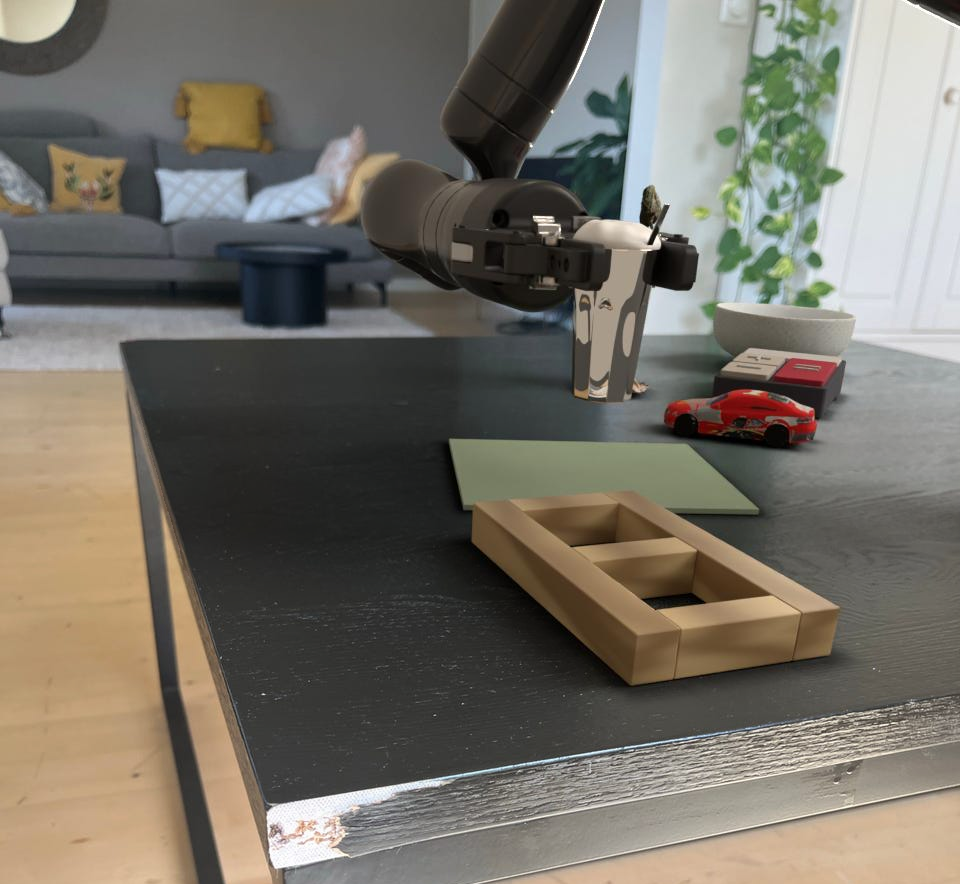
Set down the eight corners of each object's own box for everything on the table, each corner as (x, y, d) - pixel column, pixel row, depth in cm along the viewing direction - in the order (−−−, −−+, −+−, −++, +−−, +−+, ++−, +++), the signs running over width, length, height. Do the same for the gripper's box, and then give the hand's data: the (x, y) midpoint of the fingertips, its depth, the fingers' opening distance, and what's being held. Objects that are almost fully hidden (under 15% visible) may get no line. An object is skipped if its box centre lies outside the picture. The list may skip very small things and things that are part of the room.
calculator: (714, 368, 98) (746, 342, 110) (709, 410, 100) (740, 381, 112) (828, 380, 94) (848, 352, 106) (820, 425, 96) (840, 392, 108)
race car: (656, 434, 87) (661, 388, 86) (668, 422, 92) (673, 378, 90) (810, 452, 83) (818, 404, 82) (815, 439, 88) (823, 393, 86)
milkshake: (613, 412, 51) (635, 202, 47) (543, 393, 55) (558, 196, 51) (670, 404, 54) (696, 205, 50) (599, 386, 58) (618, 199, 53)
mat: (686, 448, 83) (687, 443, 83) (758, 514, 67) (759, 509, 66) (448, 443, 81) (448, 438, 81) (463, 510, 65) (463, 504, 65)
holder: (629, 527, 63) (633, 489, 62) (830, 655, 47) (840, 607, 46) (471, 542, 59) (472, 502, 58) (630, 686, 43) (636, 634, 42)
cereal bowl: (857, 385, 114) (869, 321, 111) (711, 375, 116) (719, 312, 113) (832, 362, 129) (843, 305, 126) (704, 353, 131) (711, 298, 128)
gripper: (404, 173, 59) (517, 180, 45) (614, 182, 64) (776, 190, 50) (403, 304, 62) (509, 349, 48) (603, 303, 67) (753, 343, 53)
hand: (644, 268), depth 49 cm, fingers closed on milkshake, 4 cm apart
